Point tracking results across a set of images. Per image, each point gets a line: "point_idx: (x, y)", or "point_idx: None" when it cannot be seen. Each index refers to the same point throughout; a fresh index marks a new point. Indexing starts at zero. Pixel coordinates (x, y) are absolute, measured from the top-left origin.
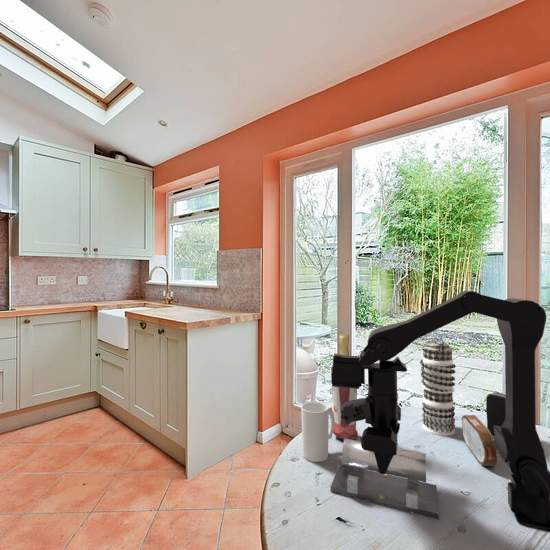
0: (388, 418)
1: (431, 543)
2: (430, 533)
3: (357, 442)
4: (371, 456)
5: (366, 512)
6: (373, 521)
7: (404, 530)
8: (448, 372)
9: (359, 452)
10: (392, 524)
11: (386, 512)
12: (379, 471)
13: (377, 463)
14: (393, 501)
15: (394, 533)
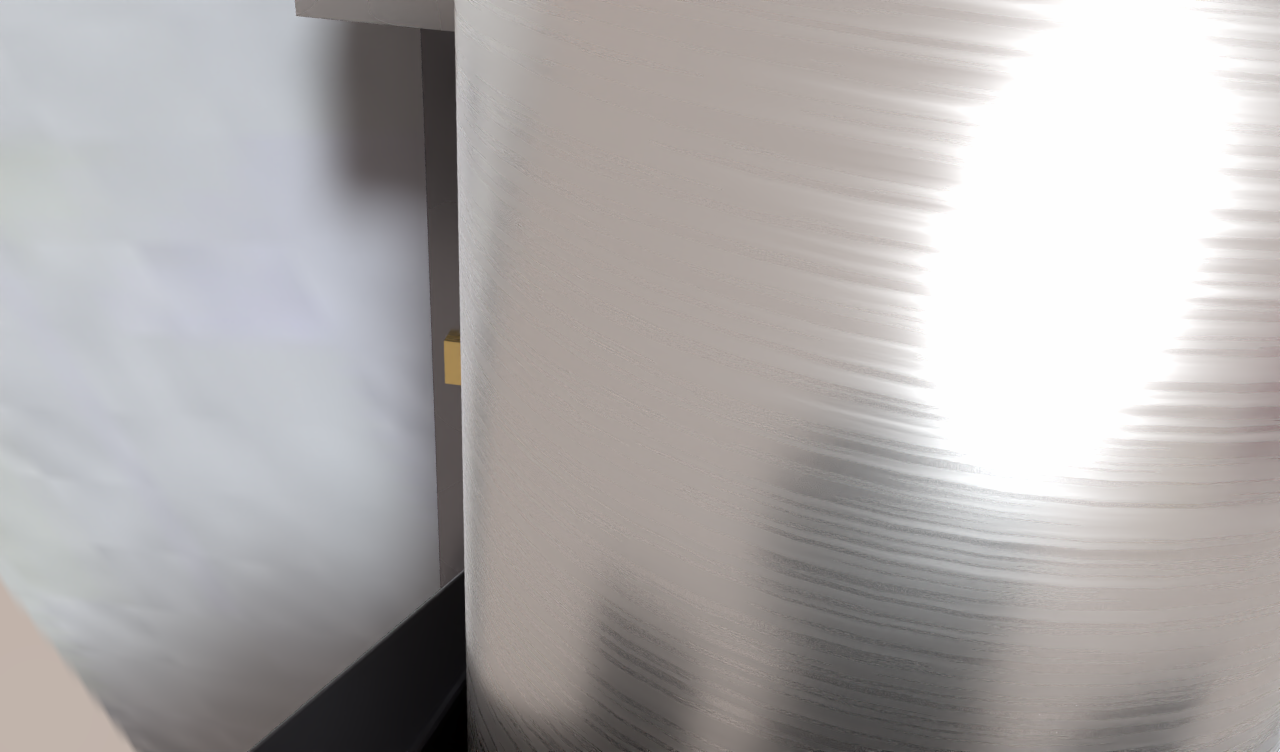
0: None
1: (117, 701)
2: (238, 716)
3: (1045, 280)
4: (473, 646)
5: (198, 117)
6: (81, 214)
7: (143, 525)
8: None
9: (485, 284)
10: (162, 422)
11: (334, 372)
12: (450, 583)
13: (308, 712)
14: (460, 500)
15: (38, 431)
